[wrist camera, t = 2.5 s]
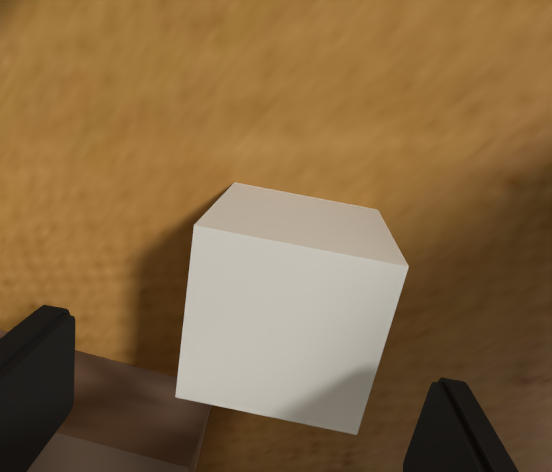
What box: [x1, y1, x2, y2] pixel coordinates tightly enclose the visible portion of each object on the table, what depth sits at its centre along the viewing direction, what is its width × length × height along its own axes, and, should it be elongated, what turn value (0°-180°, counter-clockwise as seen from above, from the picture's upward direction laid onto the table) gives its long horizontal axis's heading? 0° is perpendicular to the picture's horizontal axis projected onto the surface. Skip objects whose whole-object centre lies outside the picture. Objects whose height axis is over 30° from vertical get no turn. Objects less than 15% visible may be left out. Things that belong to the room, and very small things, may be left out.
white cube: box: [175, 182, 409, 435], centre depth 15 cm, size 6×6×6 cm
